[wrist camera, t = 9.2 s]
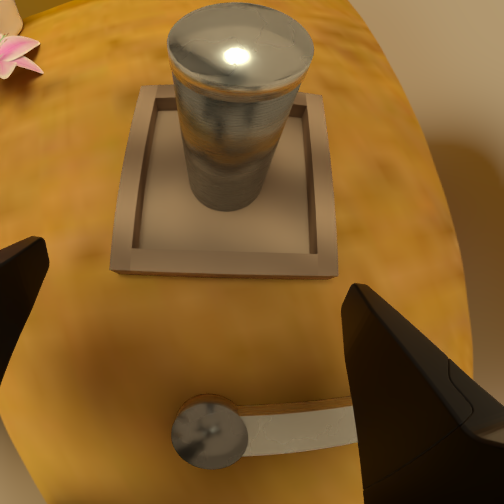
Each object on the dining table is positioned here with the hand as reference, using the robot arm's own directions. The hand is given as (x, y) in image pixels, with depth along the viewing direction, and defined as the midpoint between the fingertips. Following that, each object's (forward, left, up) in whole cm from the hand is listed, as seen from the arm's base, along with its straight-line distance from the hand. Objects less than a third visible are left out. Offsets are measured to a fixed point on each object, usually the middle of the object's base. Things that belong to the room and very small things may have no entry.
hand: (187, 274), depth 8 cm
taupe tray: (+7, -1, -10) cm, 13 cm away
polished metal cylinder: (+7, -1, -9) cm, 12 cm away
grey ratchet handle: (-8, -6, -9) cm, 14 cm away
